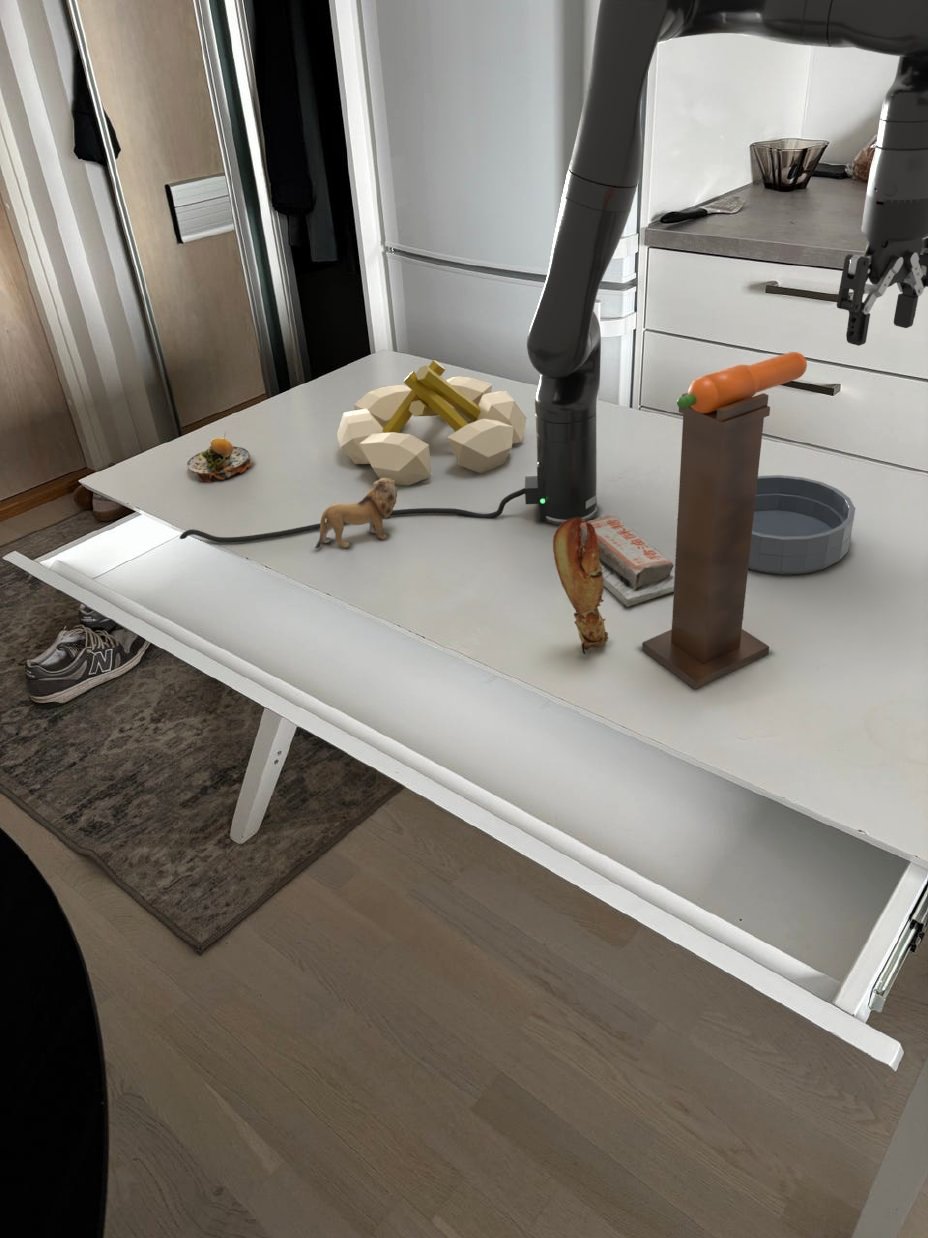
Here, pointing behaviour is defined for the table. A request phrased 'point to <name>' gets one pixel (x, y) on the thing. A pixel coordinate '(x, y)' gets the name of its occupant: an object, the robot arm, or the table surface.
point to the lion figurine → (360, 512)
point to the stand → (714, 544)
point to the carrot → (742, 382)
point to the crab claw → (581, 579)
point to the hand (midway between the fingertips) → (879, 334)
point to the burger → (219, 460)
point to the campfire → (428, 394)
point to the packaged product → (630, 562)
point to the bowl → (798, 525)
